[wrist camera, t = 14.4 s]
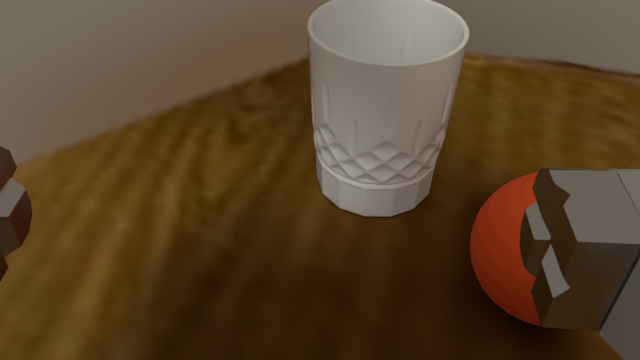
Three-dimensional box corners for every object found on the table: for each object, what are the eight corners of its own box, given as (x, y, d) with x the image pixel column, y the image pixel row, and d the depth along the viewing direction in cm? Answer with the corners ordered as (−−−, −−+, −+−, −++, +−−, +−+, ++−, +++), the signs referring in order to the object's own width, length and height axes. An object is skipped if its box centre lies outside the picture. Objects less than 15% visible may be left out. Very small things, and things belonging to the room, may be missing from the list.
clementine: (618, 262, 31) (672, 153, 26) (641, 379, 26) (714, 270, 21) (462, 235, 32) (487, 127, 28) (453, 342, 27) (483, 231, 22)
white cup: (456, 162, 37) (487, 9, 31) (414, 244, 32) (441, 80, 25) (340, 128, 40) (347, -19, 33) (284, 199, 34) (278, 40, 28)
